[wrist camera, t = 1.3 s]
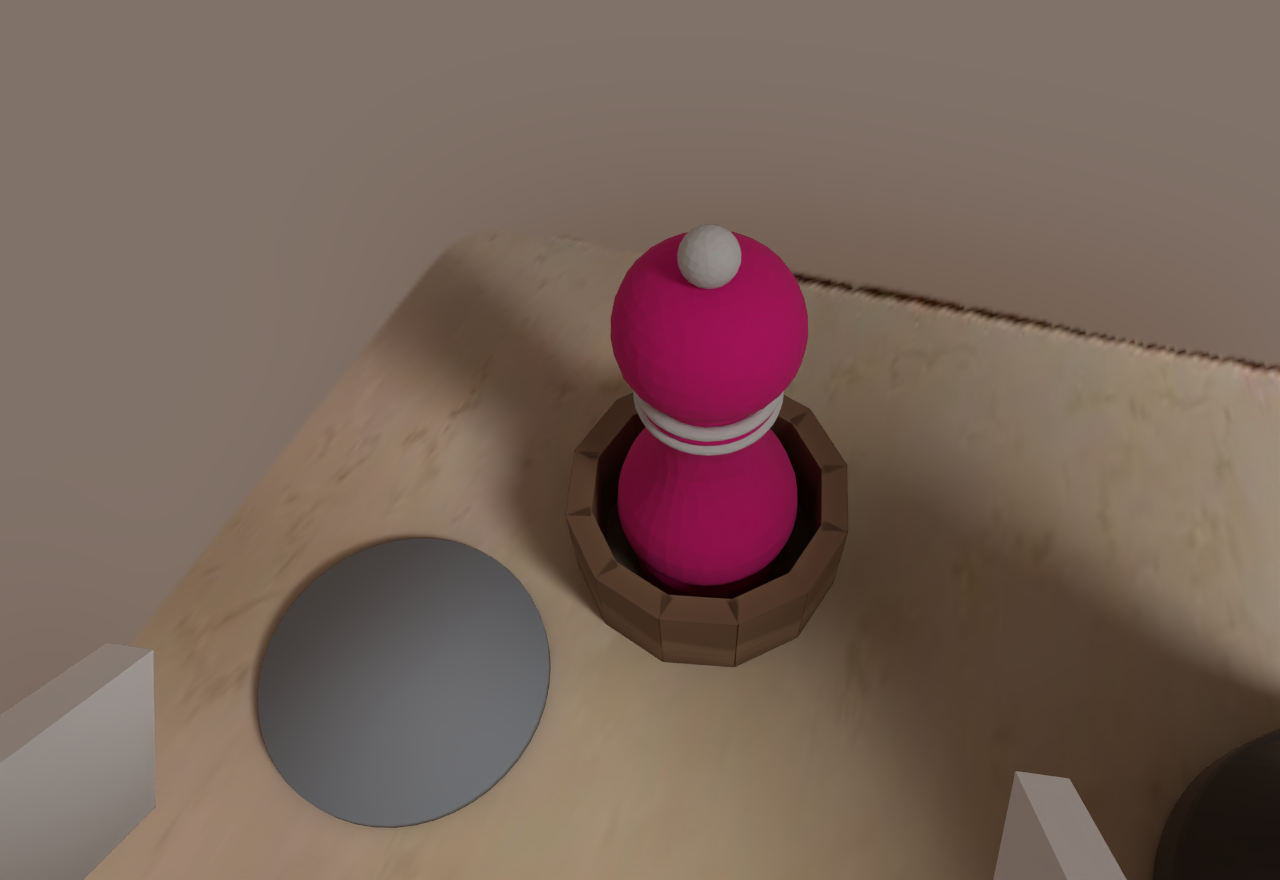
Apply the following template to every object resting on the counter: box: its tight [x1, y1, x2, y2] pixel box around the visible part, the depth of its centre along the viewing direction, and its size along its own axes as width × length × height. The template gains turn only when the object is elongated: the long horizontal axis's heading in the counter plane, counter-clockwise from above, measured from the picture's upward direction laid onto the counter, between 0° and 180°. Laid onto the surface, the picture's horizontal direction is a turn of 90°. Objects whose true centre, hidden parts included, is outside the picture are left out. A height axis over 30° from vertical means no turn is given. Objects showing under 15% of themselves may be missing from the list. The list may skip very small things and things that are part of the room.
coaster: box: [258, 538, 550, 828], centre depth 42 cm, size 12×12×1 cm
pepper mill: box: [611, 224, 808, 599], centre depth 36 cm, size 7×7×20 cm
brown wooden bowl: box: [566, 393, 848, 667], centre depth 43 cm, size 11×11×5 cm
